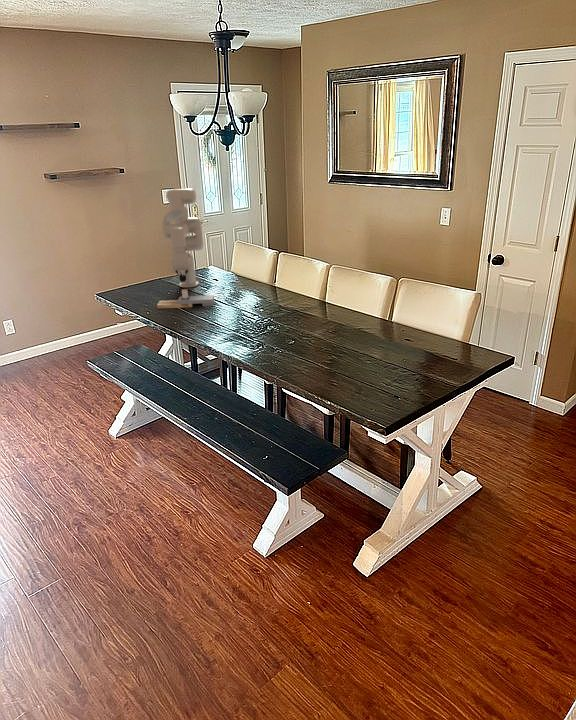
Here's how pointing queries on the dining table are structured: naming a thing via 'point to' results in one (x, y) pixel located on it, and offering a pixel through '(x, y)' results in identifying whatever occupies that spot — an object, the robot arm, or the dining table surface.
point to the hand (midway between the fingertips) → (183, 281)
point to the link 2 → (198, 300)
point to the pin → (185, 294)
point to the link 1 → (171, 304)
